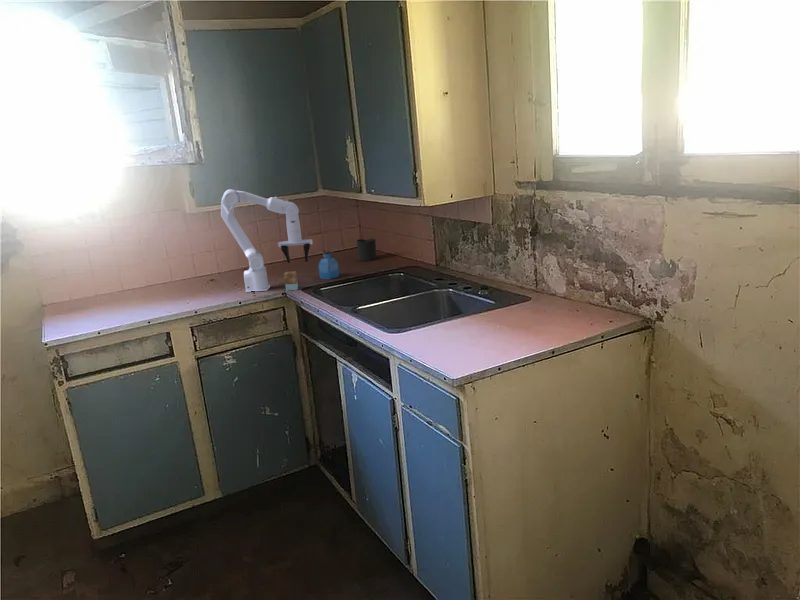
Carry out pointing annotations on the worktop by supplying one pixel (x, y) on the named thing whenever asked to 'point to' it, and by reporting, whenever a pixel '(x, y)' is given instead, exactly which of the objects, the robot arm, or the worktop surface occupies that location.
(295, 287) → the blue block
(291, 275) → the walnut cube
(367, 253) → the pen holder
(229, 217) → the robot arm
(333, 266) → the perfume bottle
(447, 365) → the worktop surface
